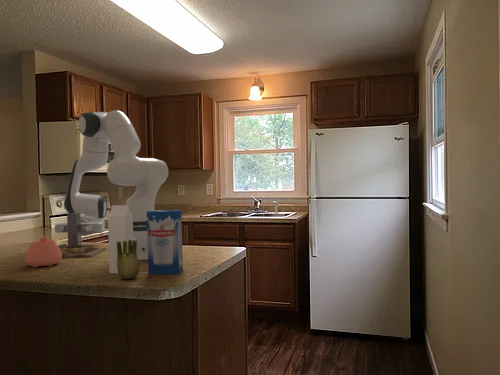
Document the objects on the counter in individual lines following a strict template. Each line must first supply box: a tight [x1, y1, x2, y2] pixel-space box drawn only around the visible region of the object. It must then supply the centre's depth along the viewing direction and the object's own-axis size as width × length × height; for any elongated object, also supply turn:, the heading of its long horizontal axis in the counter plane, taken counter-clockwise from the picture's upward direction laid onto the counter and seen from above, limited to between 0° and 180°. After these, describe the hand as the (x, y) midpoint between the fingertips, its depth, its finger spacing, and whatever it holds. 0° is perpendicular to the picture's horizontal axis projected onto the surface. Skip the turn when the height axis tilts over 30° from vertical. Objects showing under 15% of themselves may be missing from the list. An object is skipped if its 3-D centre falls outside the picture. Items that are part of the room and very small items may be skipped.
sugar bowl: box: [24, 236, 63, 269], centre depth 156 cm, size 12×14×10 cm
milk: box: [107, 204, 133, 274], centre depth 141 cm, size 6×6×22 cm
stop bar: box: [66, 213, 82, 248], centre depth 178 cm, size 4×4×16 cm
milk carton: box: [147, 209, 184, 275], centre depth 138 cm, size 10×6×20 cm, turn 87°
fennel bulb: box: [117, 239, 140, 280], centre depth 130 cm, size 6×5×12 cm
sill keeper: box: [57, 243, 107, 259], centre depth 178 cm, size 22×18×3 cm
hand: (73, 229), depth 177 cm, fingers open, 8 cm apart
